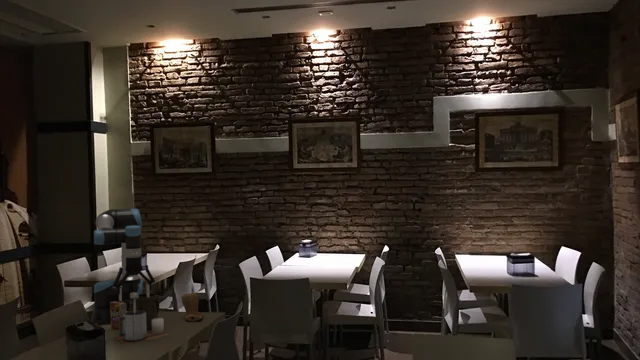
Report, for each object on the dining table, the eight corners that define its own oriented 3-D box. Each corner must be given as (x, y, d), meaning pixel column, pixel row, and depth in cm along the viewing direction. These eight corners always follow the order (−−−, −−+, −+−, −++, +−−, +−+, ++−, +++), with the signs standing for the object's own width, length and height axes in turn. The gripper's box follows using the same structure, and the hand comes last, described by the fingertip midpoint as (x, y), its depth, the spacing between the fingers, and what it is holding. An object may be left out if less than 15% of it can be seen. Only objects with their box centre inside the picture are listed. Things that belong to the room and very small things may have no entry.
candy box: (110, 330, 302) (109, 302, 302) (117, 328, 306) (116, 300, 306) (120, 332, 297) (120, 304, 297) (127, 330, 301) (126, 302, 301)
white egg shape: (150, 332, 291) (150, 319, 291) (161, 330, 294) (161, 317, 294) (153, 335, 286) (153, 321, 286) (165, 333, 289) (165, 319, 289)
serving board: (114, 340, 283) (114, 337, 283) (161, 332, 296) (161, 329, 296) (122, 348, 270) (122, 344, 270) (171, 339, 282) (171, 336, 282)
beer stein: (150, 334, 292) (151, 296, 293) (132, 333, 294) (132, 295, 295) (164, 328, 307) (165, 292, 308) (146, 328, 309) (147, 291, 310)
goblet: (125, 332, 281) (124, 292, 281) (141, 330, 285) (140, 290, 285) (129, 336, 274) (128, 295, 274) (145, 333, 279) (144, 293, 278)
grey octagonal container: (117, 338, 280) (116, 312, 280) (143, 334, 287) (142, 309, 287) (122, 343, 271) (121, 317, 271) (149, 339, 278) (148, 313, 278)
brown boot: (183, 316, 330) (182, 291, 330) (203, 315, 332) (203, 290, 332) (179, 322, 315) (179, 296, 315) (201, 321, 317) (200, 295, 317)
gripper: (109, 259, 270) (110, 303, 270) (160, 255, 283) (161, 296, 283) (105, 258, 276) (106, 300, 276) (156, 253, 290) (157, 294, 290)
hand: (134, 298), depth 280 cm, fingers open, 13 cm apart
